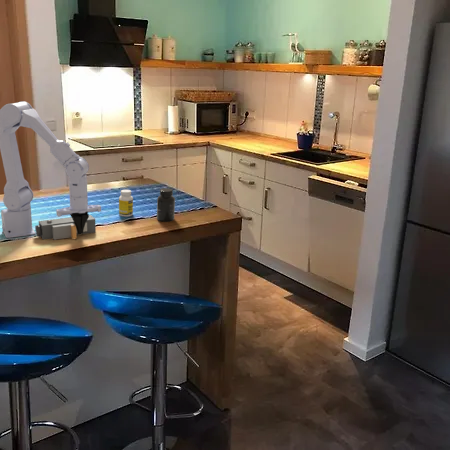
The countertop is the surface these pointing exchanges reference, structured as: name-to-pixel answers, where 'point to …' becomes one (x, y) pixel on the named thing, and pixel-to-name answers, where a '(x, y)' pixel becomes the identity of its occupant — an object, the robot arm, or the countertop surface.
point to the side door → (64, 231)
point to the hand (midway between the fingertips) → (80, 233)
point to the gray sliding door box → (46, 226)
